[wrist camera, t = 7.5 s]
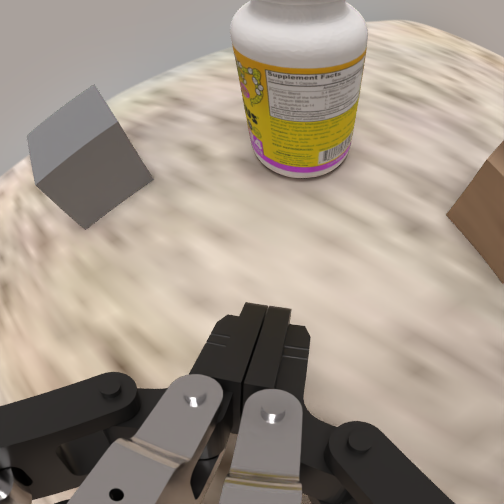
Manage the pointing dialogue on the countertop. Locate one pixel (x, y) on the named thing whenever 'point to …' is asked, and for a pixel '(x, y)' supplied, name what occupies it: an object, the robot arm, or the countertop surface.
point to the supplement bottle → (300, 80)
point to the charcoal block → (85, 159)
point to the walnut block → (484, 212)
